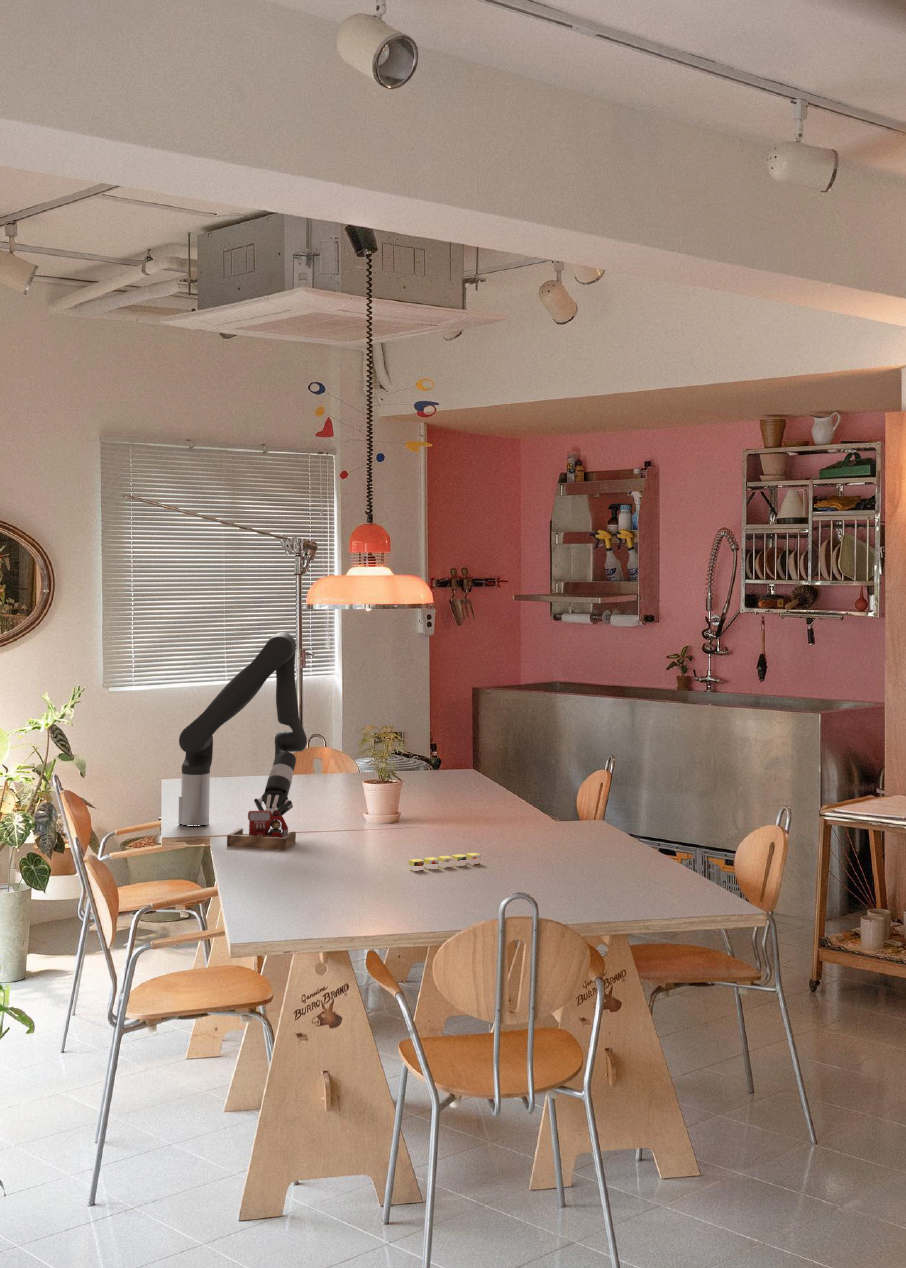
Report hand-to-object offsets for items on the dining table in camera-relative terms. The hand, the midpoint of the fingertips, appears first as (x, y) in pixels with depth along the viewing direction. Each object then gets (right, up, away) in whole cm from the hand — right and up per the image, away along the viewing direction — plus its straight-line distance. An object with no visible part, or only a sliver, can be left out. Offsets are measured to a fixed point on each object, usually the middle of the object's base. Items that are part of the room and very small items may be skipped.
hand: (267, 826), depth 401 cm
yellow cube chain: (+57, -8, -29) cm, 65 cm away
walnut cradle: (-1, -5, -4) cm, 6 cm away
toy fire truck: (0, -5, -2) cm, 6 cm away
